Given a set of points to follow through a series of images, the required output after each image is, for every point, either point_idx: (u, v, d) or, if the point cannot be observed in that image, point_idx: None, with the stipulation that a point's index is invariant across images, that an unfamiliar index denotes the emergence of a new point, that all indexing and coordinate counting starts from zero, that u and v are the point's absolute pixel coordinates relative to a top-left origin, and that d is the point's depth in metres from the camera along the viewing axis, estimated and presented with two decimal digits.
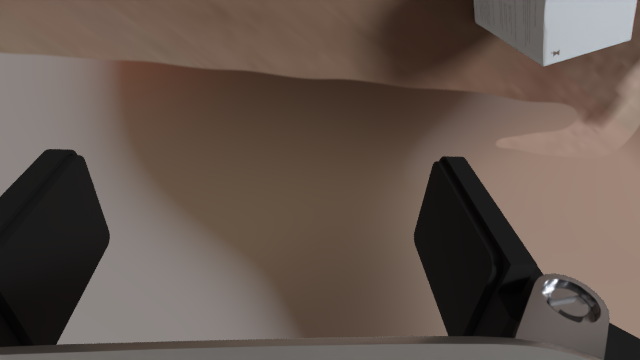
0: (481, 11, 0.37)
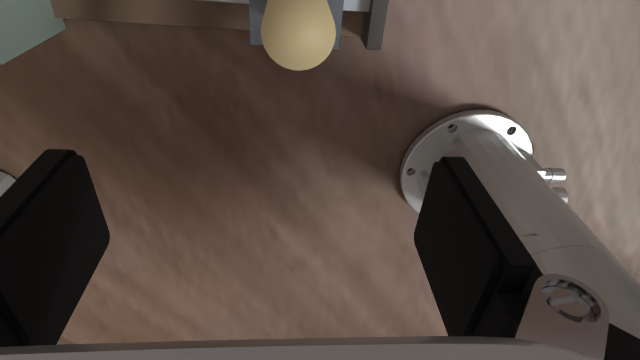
0: None
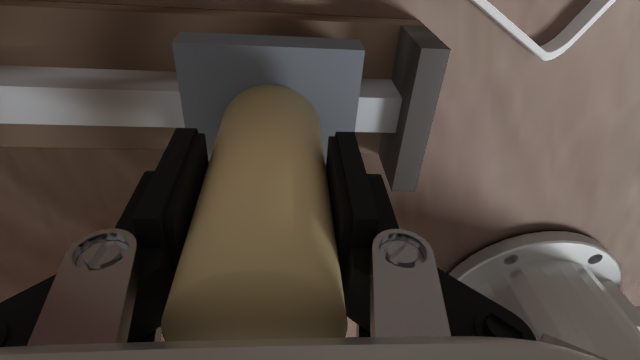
0: None
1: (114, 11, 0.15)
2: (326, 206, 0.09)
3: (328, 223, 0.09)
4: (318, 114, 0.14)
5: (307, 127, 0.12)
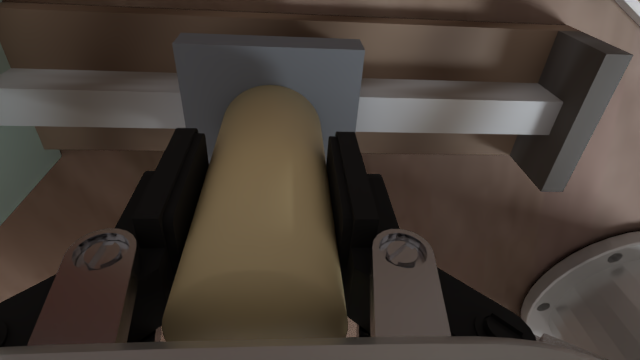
0: None
1: (291, 20, 0.15)
2: (326, 206, 0.09)
3: (328, 223, 0.09)
4: (319, 114, 0.14)
5: (308, 128, 0.12)
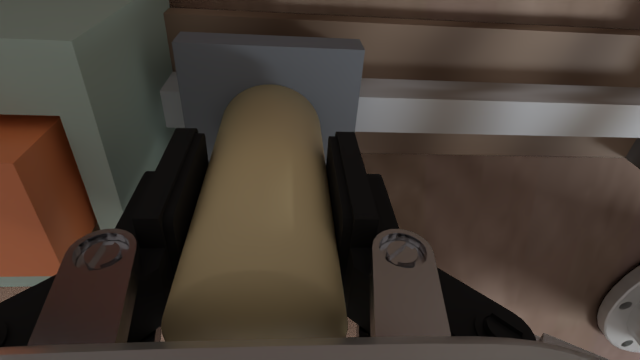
0: None
1: (448, 27, 0.16)
2: (326, 206, 0.09)
3: (328, 223, 0.09)
4: (318, 114, 0.14)
5: (307, 128, 0.12)
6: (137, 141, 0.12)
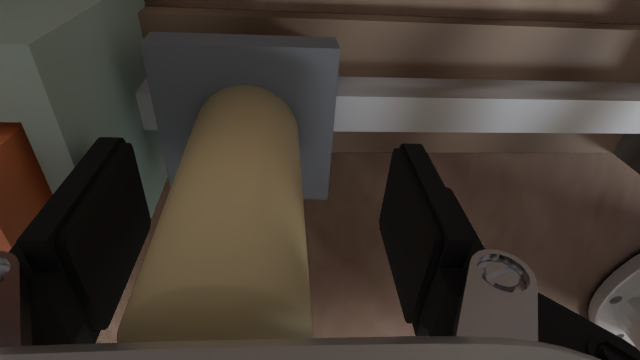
0: None
1: (431, 23, 0.15)
2: (296, 212, 0.09)
3: (296, 230, 0.09)
4: (295, 114, 0.13)
5: (280, 130, 0.11)
6: None
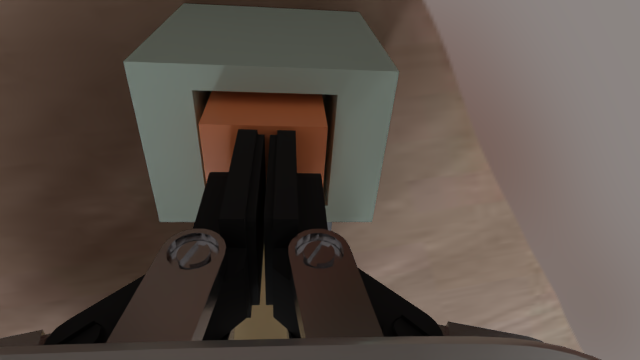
0: None
1: None
2: None
3: None
4: None
5: None
6: None
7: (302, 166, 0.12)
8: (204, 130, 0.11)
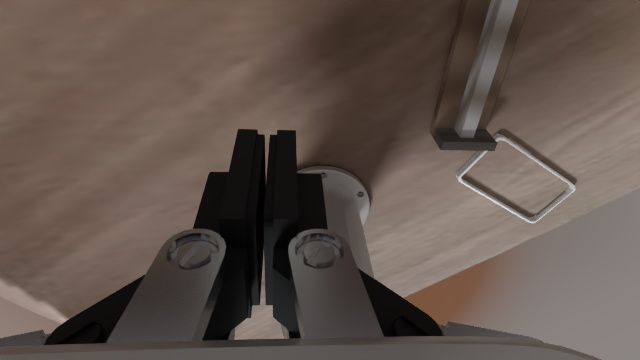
0: None
1: None
2: None
3: None
4: None
5: None
6: None
7: None
8: None
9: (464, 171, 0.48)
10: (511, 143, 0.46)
